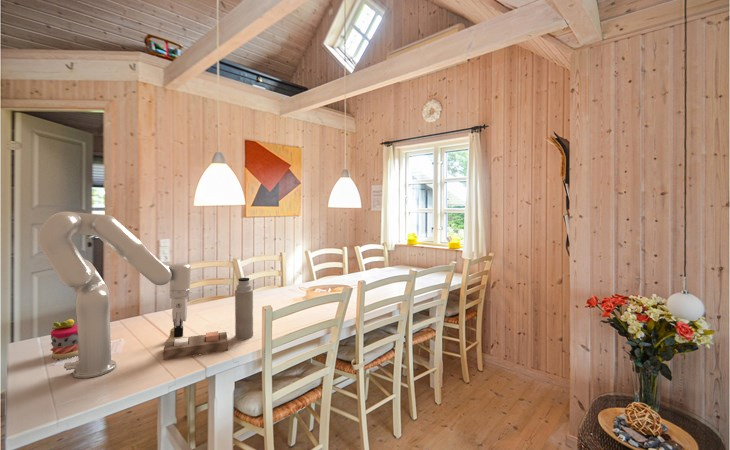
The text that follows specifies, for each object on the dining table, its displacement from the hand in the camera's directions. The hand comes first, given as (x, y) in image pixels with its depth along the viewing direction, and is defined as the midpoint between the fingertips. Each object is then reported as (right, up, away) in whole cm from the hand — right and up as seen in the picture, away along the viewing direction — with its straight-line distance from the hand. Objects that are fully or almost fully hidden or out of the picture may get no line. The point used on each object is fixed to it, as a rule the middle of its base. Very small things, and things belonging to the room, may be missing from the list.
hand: (178, 336), depth 144 cm
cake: (-44, -7, -3) cm, 44 cm away
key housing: (+6, -7, +3) cm, 10 cm away
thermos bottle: (+21, -6, +19) cm, 29 cm away
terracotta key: (+12, -4, +6) cm, 14 cm away
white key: (+1, -5, +1) cm, 5 cm away
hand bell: (-8, -6, +13) cm, 17 cm away
